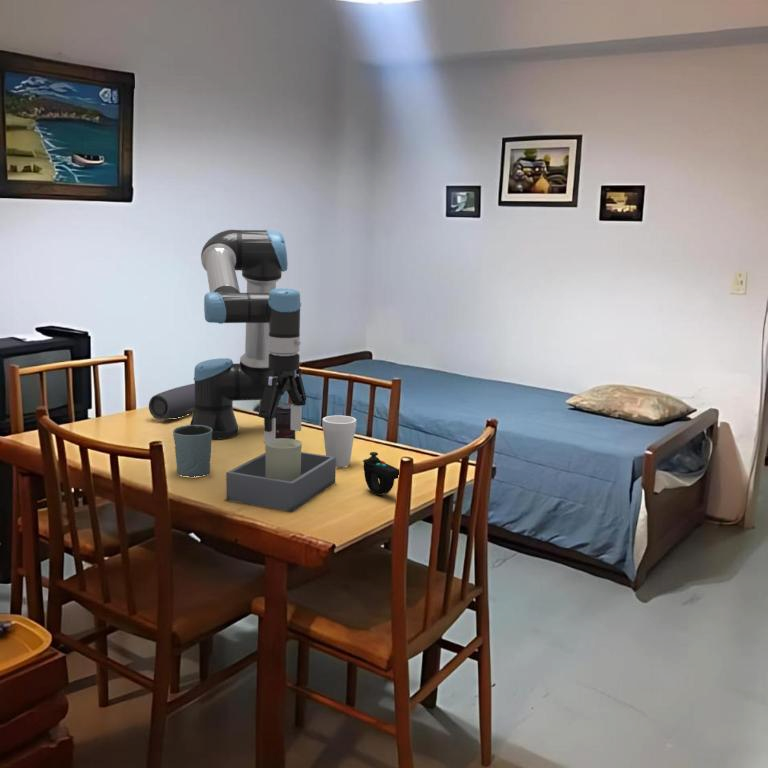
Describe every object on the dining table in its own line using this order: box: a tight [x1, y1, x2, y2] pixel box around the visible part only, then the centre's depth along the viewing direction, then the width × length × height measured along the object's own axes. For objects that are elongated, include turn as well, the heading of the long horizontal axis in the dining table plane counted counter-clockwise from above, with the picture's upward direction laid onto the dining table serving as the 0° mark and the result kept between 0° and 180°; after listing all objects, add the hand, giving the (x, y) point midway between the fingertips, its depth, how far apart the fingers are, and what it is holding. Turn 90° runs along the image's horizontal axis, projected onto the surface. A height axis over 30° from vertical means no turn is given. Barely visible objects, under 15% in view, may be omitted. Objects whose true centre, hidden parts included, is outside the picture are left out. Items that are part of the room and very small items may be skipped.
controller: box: [362, 451, 400, 496], centre depth 206 cm, size 4×12×10 cm, turn 37°
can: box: [264, 438, 303, 482], centre depth 206 cm, size 9×9×12 cm
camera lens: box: [273, 402, 296, 440], centre depth 235 cm, size 8×8×15 cm
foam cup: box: [321, 414, 357, 468], centre depth 229 cm, size 10×9×13 cm
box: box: [225, 451, 337, 513], centre depth 206 cm, size 24×18×7 cm
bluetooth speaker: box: [148, 383, 195, 420], centre depth 277 cm, size 23×9×10 cm, turn 157°
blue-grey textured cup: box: [172, 424, 213, 477], centre depth 217 cm, size 10×10×12 cm
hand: (283, 436), depth 204 cm, fingers open, 13 cm apart
